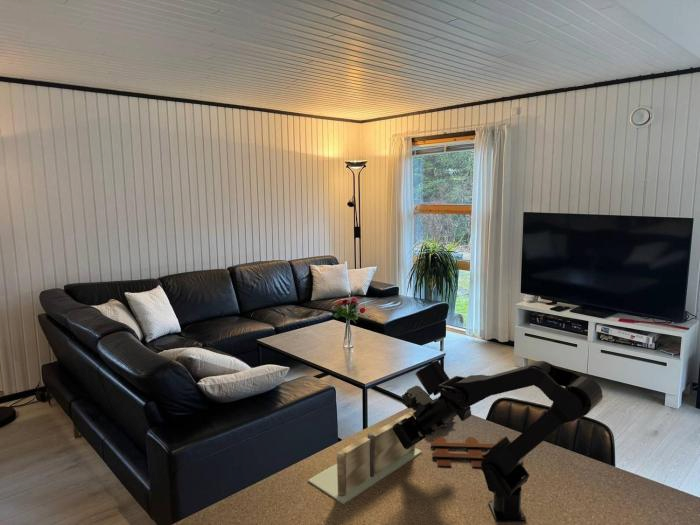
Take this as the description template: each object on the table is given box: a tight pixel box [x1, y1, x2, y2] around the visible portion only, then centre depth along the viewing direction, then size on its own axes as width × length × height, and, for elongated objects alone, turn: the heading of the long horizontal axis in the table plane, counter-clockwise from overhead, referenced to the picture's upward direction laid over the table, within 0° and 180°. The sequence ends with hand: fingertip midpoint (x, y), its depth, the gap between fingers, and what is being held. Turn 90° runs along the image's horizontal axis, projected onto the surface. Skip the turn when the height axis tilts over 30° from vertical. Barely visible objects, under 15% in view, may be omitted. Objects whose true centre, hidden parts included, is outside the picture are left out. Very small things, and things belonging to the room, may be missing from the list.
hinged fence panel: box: [370, 411, 416, 473], centre depth 126 cm, size 16×2×10 cm, turn 135°
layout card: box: [307, 447, 423, 505], centre depth 125 cm, size 30×12×1 cm, turn 135°
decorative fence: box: [430, 435, 524, 470], centre depth 131 cm, size 23×2×15 cm
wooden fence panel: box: [336, 433, 374, 497], centre depth 116 cm, size 12×2×11 cm, turn 135°
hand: (405, 436), depth 126 cm, fingers closed
